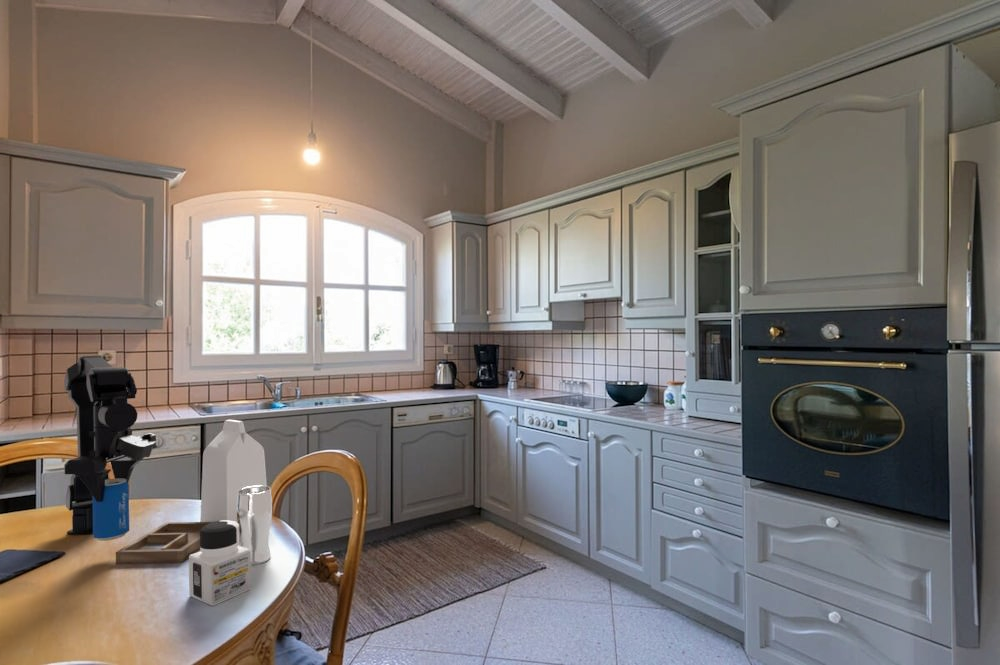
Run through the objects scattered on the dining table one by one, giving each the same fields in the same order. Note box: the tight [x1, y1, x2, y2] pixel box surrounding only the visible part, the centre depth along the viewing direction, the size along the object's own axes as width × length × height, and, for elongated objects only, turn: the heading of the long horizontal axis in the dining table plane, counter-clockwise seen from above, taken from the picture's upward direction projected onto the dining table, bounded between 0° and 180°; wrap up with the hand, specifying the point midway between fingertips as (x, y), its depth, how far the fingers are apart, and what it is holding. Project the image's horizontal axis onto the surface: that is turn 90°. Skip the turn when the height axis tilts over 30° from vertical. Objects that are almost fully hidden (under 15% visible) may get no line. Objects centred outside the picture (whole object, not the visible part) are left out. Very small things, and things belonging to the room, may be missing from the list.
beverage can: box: [92, 477, 130, 542], centre depth 120 cm, size 6×6×12 cm
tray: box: [115, 521, 212, 565], centre depth 125 cm, size 18×14×3 cm
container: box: [188, 520, 252, 607], centre depth 103 cm, size 8×8×13 cm
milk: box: [199, 419, 268, 523], centre depth 142 cm, size 12×12×26 cm
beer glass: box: [237, 485, 273, 566], centre depth 118 cm, size 7×7×15 cm
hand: (111, 496), depth 120 cm, fingers closed on beverage can, 6 cm apart
